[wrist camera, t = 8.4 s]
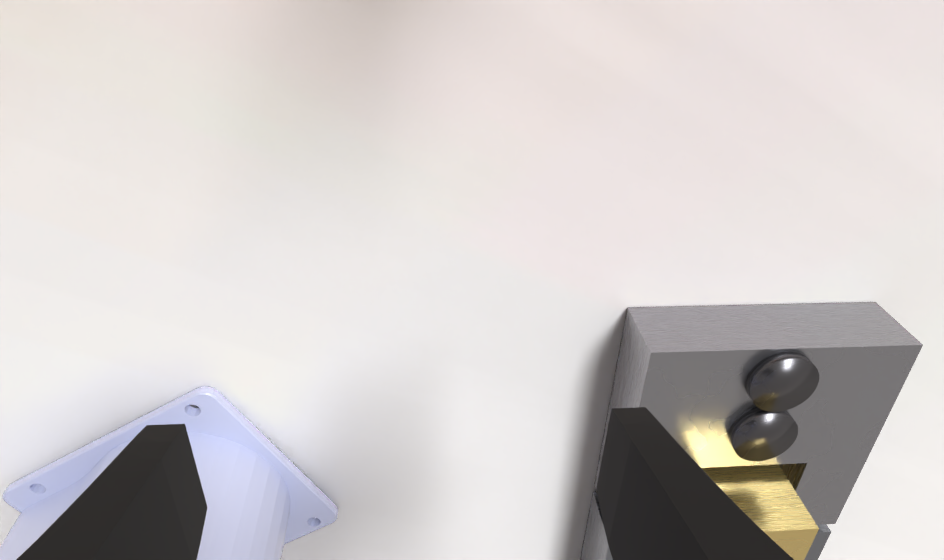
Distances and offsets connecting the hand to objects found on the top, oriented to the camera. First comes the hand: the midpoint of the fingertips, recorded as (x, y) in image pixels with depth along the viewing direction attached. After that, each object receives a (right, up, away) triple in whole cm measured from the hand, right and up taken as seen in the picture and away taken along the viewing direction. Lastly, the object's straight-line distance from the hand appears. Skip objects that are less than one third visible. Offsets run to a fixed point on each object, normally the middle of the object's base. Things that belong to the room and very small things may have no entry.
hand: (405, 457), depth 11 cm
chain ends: (+11, -5, +16) cm, 20 cm away
